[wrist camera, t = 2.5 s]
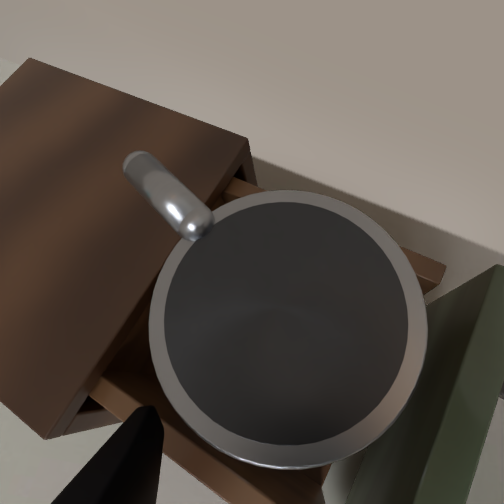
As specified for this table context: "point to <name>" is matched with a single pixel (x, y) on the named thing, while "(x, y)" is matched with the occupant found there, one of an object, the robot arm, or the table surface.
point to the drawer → (392, 440)
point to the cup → (281, 322)
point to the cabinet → (85, 232)
